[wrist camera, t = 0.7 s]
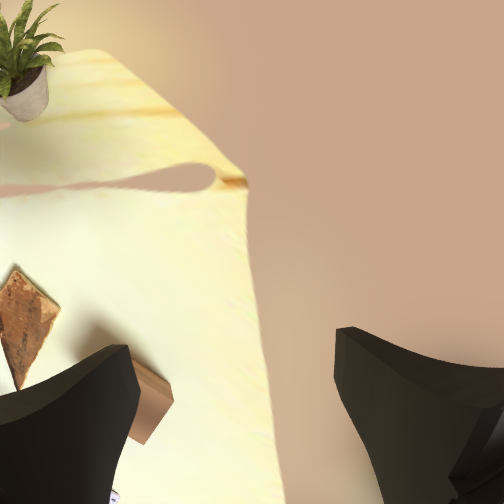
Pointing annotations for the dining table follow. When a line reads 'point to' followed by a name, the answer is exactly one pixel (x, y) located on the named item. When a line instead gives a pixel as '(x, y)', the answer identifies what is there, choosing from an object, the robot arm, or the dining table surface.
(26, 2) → the house plant
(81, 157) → the dining table surface
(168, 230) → the dining table surface
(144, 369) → the walnut block
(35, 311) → the shard
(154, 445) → the dining table surface
